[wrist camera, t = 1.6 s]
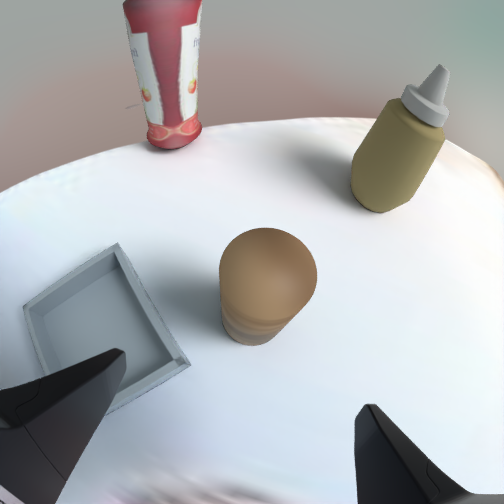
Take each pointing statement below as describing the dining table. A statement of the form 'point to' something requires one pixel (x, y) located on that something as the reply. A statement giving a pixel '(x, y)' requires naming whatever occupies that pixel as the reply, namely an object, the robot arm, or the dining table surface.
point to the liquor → (166, 66)
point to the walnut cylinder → (264, 283)
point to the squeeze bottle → (401, 145)
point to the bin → (104, 325)
